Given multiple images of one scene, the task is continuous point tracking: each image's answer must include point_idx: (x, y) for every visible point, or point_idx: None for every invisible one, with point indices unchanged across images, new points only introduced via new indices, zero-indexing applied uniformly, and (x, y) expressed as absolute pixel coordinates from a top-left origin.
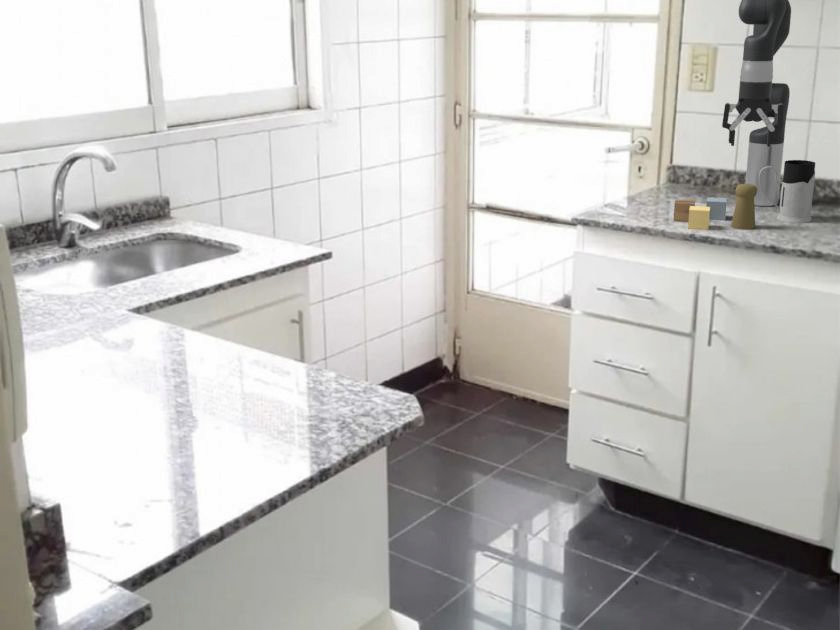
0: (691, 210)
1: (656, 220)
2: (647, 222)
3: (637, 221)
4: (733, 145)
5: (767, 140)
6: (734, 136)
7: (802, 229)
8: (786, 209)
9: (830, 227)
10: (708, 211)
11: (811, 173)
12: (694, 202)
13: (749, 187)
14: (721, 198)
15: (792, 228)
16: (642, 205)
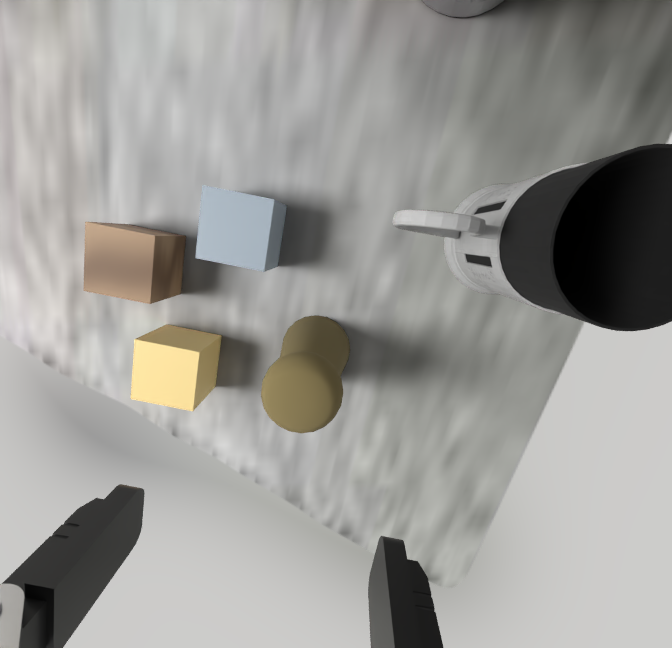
0: (138, 399)
1: (74, 271)
2: (50, 299)
3: (21, 286)
4: (134, 535)
5: (378, 595)
6: (88, 607)
7: (474, 377)
8: (472, 277)
9: (564, 352)
10: (190, 409)
11: (643, 302)
12: (151, 280)
13: (304, 431)
14: (254, 202)
15: (450, 366)
16: (12, 16)
